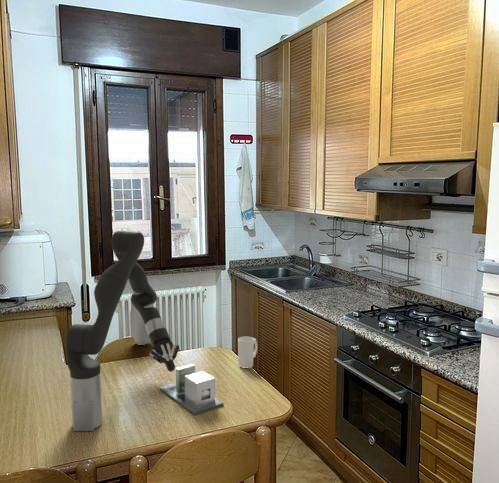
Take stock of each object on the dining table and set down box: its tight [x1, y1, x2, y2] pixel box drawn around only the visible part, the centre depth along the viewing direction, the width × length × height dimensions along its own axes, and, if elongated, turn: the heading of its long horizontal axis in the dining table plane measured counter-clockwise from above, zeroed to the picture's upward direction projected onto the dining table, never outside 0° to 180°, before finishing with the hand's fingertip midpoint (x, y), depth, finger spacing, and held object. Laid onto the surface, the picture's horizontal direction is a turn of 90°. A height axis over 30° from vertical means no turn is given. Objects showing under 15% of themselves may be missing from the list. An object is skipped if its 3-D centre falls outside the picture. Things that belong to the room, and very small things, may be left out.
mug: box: [237, 336, 258, 369], centre depth 205 cm, size 10×7×12 cm, turn 132°
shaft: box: [175, 363, 210, 399], centre depth 172 cm, size 15×7×9 cm, turn 38°
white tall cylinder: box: [129, 291, 152, 346], centre depth 228 cm, size 10×10×28 cm
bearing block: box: [159, 370, 225, 416], centre depth 175 cm, size 25×12×10 cm, turn 38°
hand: (172, 370), depth 186 cm, fingers closed
